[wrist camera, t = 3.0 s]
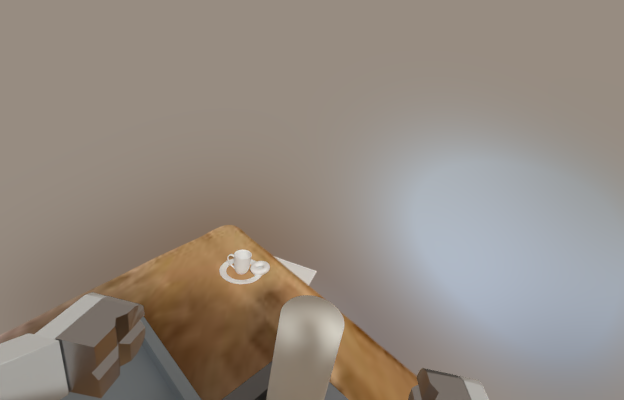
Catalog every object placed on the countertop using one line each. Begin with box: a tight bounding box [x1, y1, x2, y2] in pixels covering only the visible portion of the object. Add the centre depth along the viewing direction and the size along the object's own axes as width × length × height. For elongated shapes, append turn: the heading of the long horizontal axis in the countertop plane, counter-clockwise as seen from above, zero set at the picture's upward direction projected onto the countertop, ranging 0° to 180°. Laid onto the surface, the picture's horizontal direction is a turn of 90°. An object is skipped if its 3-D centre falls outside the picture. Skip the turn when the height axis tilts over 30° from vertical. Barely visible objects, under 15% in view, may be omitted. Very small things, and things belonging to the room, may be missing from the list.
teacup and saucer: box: [219, 250, 270, 284], centre depth 55 cm, size 9×8×4 cm
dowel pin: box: [266, 295, 344, 400], centre depth 26 cm, size 5×5×18 cm
